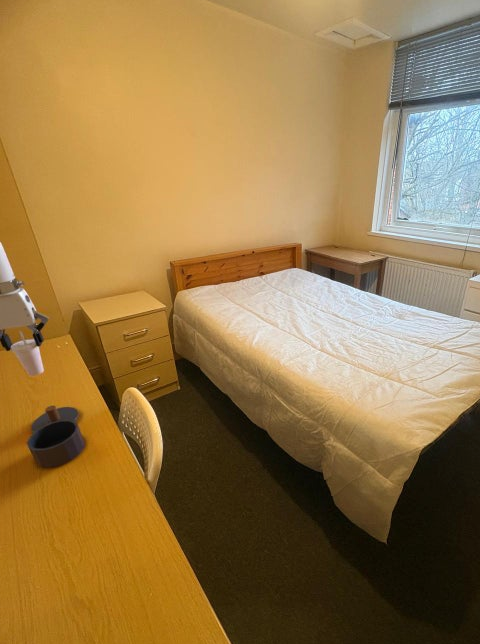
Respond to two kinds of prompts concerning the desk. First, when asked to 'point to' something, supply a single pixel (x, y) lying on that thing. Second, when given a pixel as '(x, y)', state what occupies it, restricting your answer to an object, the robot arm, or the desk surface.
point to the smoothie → (28, 355)
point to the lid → (54, 416)
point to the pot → (56, 443)
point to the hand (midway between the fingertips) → (25, 346)
